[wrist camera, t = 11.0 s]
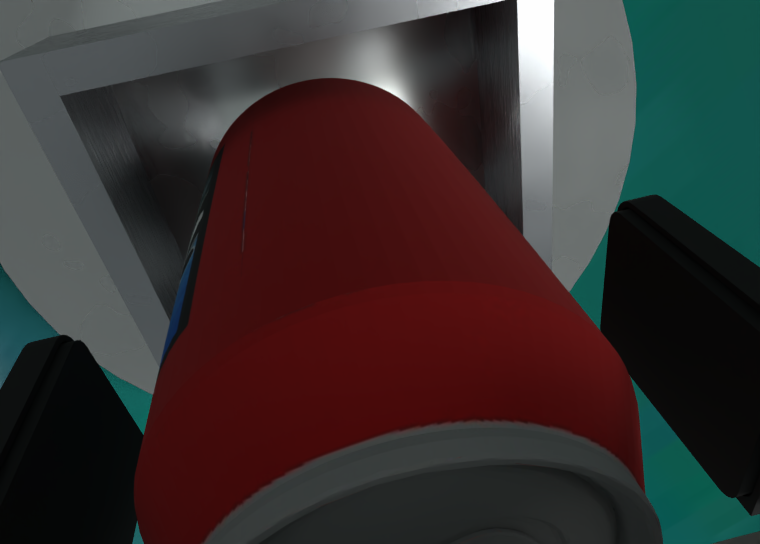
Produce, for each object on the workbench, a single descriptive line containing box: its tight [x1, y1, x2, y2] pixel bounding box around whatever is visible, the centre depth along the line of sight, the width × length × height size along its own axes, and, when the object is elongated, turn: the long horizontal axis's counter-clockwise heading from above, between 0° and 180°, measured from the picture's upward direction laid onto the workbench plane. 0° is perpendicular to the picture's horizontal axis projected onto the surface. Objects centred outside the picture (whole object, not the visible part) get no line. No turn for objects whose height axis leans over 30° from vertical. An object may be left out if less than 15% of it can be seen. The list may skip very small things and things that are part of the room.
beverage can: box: [134, 78, 663, 544], centre depth 11 cm, size 7×7×12 cm
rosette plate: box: [0, 0, 636, 394], centre depth 15 cm, size 19×19×4 cm
